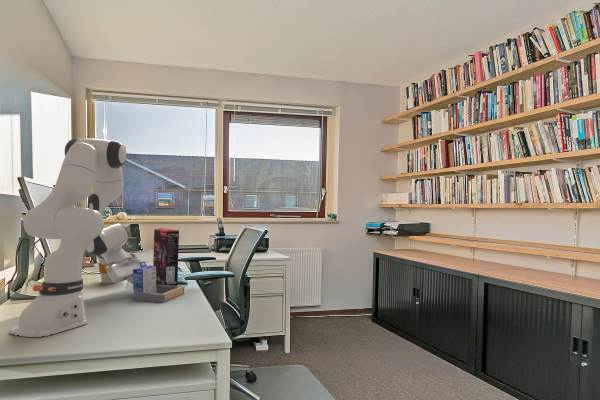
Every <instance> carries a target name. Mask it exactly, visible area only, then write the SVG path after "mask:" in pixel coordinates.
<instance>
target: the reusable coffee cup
mask: <svg viewBox="0 0 600 400" xmlns="http://www.w3.org/2000/svg"><path fill="white" fill-rule="evenodd" d="M97 258H98V271H99V274H100V281H101V283H102V284H115V283H114V282H113V281H112V280H111V279H110V277H109V276H108V274H107V270H106V269H105V265H106V264H107V263H106V261H105V259H104V257H102V256H101V255H100V256H97Z"/></svg>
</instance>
